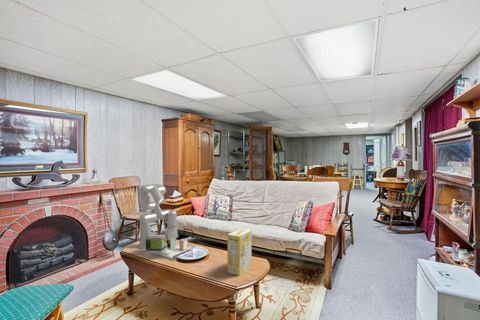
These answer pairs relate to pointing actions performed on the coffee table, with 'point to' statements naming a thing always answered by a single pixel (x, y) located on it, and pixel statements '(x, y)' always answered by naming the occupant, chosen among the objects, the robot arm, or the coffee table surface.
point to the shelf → (173, 252)
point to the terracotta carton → (183, 244)
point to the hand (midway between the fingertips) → (171, 246)
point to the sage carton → (172, 244)
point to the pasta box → (239, 251)
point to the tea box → (155, 244)
